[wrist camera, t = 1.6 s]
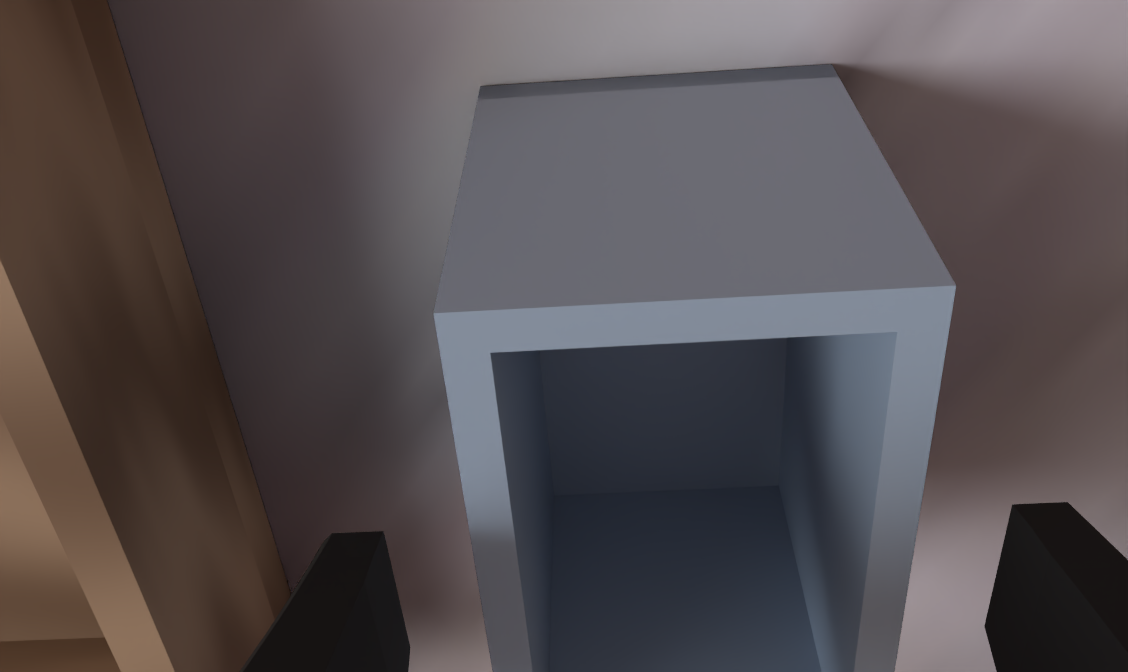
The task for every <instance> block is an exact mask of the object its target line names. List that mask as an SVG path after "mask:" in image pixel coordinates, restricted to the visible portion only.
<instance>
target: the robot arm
mask: <svg viewBox="0 0 1128 672" xmlns="http://www.w3.org/2000/svg"><path fill="white" fill-rule="evenodd" d="M985 629H986V633H987V637H988V641H989V644H990V648H991V652H992V656H993V659H994V663H995V667H996V670H997V672H1128V560H1127V559H1126V558H1125V557H1124V556H1123V555H1122V554H1121V553H1120V552H1119V551H1118V550H1117V549H1116V548H1115V547H1114V546H1113V545H1112V544H1111V543H1110V542H1109V541H1108V540H1106V539H1105V538H1104V537H1103V536H1102V535H1101V534H1100V533H1099V532H1098V531H1097V530H1096V529H1095V528H1094V527H1093V526H1092V525H1091V524H1090V523H1089V522H1088V521H1087V520H1086V519H1085V518H1084V517H1083V516H1081V515H1080V514H1079V513H1078V512H1077V511H1076V510H1075V509H1074V508H1073V507H1072V506H1071V505H1070V504H1069V503H1068V502H1061V503H1038V504H1014V505H1012V509H1011V513H1010V517H1009V522H1008V526H1007V530H1006V535H1005V539H1004V544H1003V548H1002V552H1001V557H1000V561H999V565H998V570H997V574H996V578H995V583H994V587H993V592H992V596H991V600H990V605H989V609H988V613H987V618H986V622H985ZM409 655H410V644H409V640H408V636H407V631H406V627H405V623H404V618H403V614H402V610H401V605H400V601H399V597H398V592H397V588H396V584H395V579H394V575H393V571H392V566H391V562H390V558H389V553H388V549H387V545H386V540H385V536H384V532H383V531H379V532H355V533H332V534H331V535H330V536H329V537H328V538H327V539H326V540H325V541H324V543H323V544H322V546H321V547H320V549H319V551H318V552H317V554H316V556H315V557H314V559H313V561H312V562H311V564H310V566H309V567H308V569H307V570H306V572H305V574H304V575H303V577H302V579H301V580H300V582H299V583H298V585H297V587H296V588H295V590H294V591H293V593H292V594H291V596H290V598H289V599H288V601H287V602H286V604H285V605H284V607H283V608H282V610H281V611H280V613H279V614H278V616H277V617H276V619H275V621H274V622H273V624H272V625H271V627H270V628H269V630H268V631H267V633H266V634H265V636H264V637H263V638H262V640H261V641H260V643H259V644H258V646H257V647H256V648H255V650H254V651H253V653H252V654H251V656H250V657H249V658H248V660H247V661H246V663H245V664H244V666H243V667H242V669H241V670H240V671H239V672H408V667H409Z"/></svg>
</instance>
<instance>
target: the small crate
mask: <svg viewBox="0 0 1128 672" xmlns="http://www.w3.org/2000/svg"><path fill="white" fill-rule="evenodd" d="M955 290H956V284H955V282H954V281H953V279H952V277H951V275H950V273H949V272H948V270H947V268H946V266H945V265H944V263H943V261H942V259H941V258H940V256H939V254H938V252H937V250H936V249H935V247H934V245H933V243H932V242H931V240H930V238H929V236H928V234H927V233H926V231H925V229H924V227H923V226H922V224H921V222H920V220H919V218H918V217H917V215H916V213H915V211H914V210H913V208H912V206H911V204H910V202H909V201H908V199H907V197H906V195H905V194H904V192H903V190H902V188H901V186H900V185H899V183H898V181H897V179H896V178H895V176H894V174H893V172H892V171H891V169H890V167H889V165H888V163H887V162H886V160H885V158H884V156H883V155H882V153H881V151H880V149H879V147H878V146H877V144H876V142H875V140H874V139H873V137H872V135H871V133H870V131H869V130H868V128H867V126H866V124H865V123H864V121H863V119H862V117H861V115H860V114H859V112H858V110H857V108H856V107H855V105H854V103H853V101H852V99H851V98H850V96H849V94H848V92H847V91H846V89H845V87H844V85H843V84H842V82H841V80H840V78H839V76H838V75H837V73H836V71H835V69H834V68H833V66H832V64H826V65H810V66H794V67H778V68H763V69H747V70H731V71H715V72H700V73H684V74H668V75H652V76H637V77H621V78H605V79H589V80H574V81H558V82H542V83H526V84H511V85H495V86H480V91H479V96H478V101H477V106H476V110H475V115H474V120H473V125H472V130H471V135H470V139H469V144H468V149H467V154H466V159H465V163H464V168H463V173H462V178H461V183H460V187H459V192H458V197H457V202H456V207H455V212H454V216H453V221H452V226H451V231H450V236H449V240H448V245H447V250H446V255H445V260H444V264H443V269H442V274H441V279H440V284H439V289H438V293H437V298H436V303H435V308H434V313H433V314H434V320H435V326H436V332H437V338H438V344H439V350H440V356H441V362H442V369H443V375H444V381H445V387H446V393H447V399H448V405H449V411H450V417H451V423H452V429H453V435H454V441H455V447H456V453H457V459H458V465H459V471H460V477H461V483H462V489H463V495H464V501H465V507H466V513H467V519H468V525H469V531H470V538H471V544H472V550H473V556H474V562H475V568H476V574H477V580H478V586H479V592H480V598H481V604H482V610H483V616H484V622H485V628H486V634H487V640H488V646H489V652H490V658H491V664H492V670H493V672H894V671H895V665H896V659H897V653H898V646H899V640H900V634H901V628H902V621H903V615H904V609H905V603H906V596H907V590H908V584H909V578H910V571H911V565H912V559H913V553H914V546H915V540H916V534H917V528H918V521H919V515H920V509H921V503H922V497H923V490H924V484H925V478H926V472H927V465H928V459H929V453H930V447H931V440H932V434H933V428H934V422H935V415H936V409H937V403H938V397H939V390H940V384H941V378H942V372H943V365H944V359H945V353H946V347H947V340H948V334H949V328H950V322H951V315H952V309H953V303H954V297H955Z"/></svg>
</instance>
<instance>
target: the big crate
mask: <svg viewBox="0 0 1128 672" xmlns="http://www.w3.org/2000/svg"><path fill="white" fill-rule="evenodd" d="M290 596H291V593H290V590H289V586H288V583H287V580H286V577H285V573H284V570H283V567H282V564H281V561H280V557H279V554H278V551H277V548H276V544H275V541H274V538H273V535H272V532H271V528H270V525H269V522H268V519H267V515H266V512H265V509H264V506H263V502H262V499H261V496H260V493H259V490H258V486H257V483H256V480H255V477H254V473H253V470H252V467H251V464H250V461H249V457H248V454H247V451H246V448H245V444H244V441H243V438H242V435H241V431H240V428H239V425H238V422H237V419H236V415H235V412H234V409H233V406H232V402H231V399H230V396H229V393H228V390H227V386H226V383H225V380H224V377H223V373H222V370H221V367H220V364H219V361H218V357H217V354H216V351H215V348H214V344H213V341H212V338H211V335H210V331H209V328H208V325H207V322H206V319H205V315H204V312H203V309H202V306H201V302H200V299H199V296H198V293H197V290H196V286H195V283H194V280H193V277H192V273H191V270H190V267H189V264H188V260H187V257H186V254H185V251H184V248H183V244H182V241H181V238H180V235H179V231H178V228H177V225H176V222H175V219H174V215H173V212H172V209H171V206H170V202H169V199H168V196H167V193H166V189H165V186H164V183H163V180H162V177H161V173H160V170H159V167H158V164H157V160H156V157H155V154H154V151H153V148H152V144H151V141H150V138H149V135H148V131H147V128H146V125H145V122H144V118H143V115H142V112H141V109H140V106H139V102H138V99H137V96H136V93H135V89H134V86H133V83H132V80H131V77H130V73H129V70H128V67H127V64H126V60H125V57H124V54H123V51H122V48H121V44H120V41H119V38H118V35H117V31H116V28H115V25H114V22H113V18H112V15H111V12H110V9H109V6H108V2H107V0H0V672H239V671H240V670H241V669H242V667H243V666H244V664H245V663H246V661H247V660H248V658H249V657H250V656H251V654H252V653H253V651H254V650H255V648H256V647H257V646H258V644H259V643H260V641H261V640H262V638H263V637H264V636H265V634H266V633H267V631H268V630H269V628H270V627H271V625H272V624H273V622H274V621H275V619H276V617H277V616H278V614H279V613H280V611H281V610H282V608H283V607H284V605H285V604H286V602H287V601H288V599H289V598H290Z"/></svg>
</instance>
